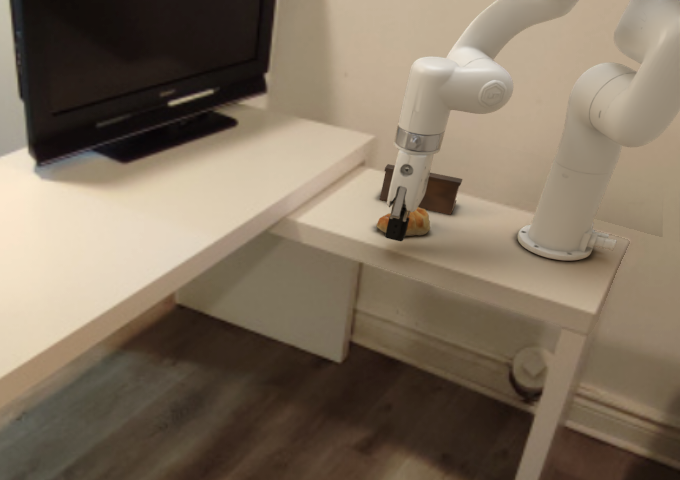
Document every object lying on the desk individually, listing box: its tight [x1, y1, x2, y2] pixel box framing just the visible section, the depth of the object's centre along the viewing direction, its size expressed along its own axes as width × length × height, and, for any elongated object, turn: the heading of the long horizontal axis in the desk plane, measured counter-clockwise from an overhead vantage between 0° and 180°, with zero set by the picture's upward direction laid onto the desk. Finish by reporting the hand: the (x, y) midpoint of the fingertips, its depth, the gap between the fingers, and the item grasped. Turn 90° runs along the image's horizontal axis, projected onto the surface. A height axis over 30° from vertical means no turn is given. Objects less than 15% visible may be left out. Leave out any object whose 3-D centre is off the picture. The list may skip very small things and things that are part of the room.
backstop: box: [379, 163, 463, 215], centre depth 156 cm, size 14×5×7 cm, turn 62°
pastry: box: [376, 207, 431, 237], centre depth 148 cm, size 9×7×4 cm
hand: (394, 237), depth 142 cm, fingers closed
